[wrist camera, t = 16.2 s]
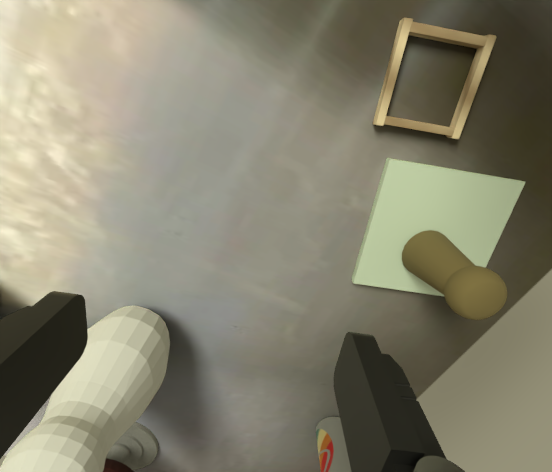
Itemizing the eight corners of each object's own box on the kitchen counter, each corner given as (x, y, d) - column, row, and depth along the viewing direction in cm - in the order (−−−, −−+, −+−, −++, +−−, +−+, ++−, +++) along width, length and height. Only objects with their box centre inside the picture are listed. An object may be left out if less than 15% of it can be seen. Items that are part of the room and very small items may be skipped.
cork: (459, 248, 38) (534, 296, 28) (424, 283, 40) (481, 340, 29) (427, 220, 36) (493, 260, 26) (391, 257, 38) (440, 309, 28)
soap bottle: (155, 388, 48) (-4, 751, 21) (82, 360, 46) (-202, 724, 19) (198, 309, 42) (59, 661, 15) (117, 273, 40) (-212, 607, 13)
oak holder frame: (399, 21, 30) (404, 17, 29) (488, 38, 31) (496, 36, 29) (372, 124, 34) (375, 124, 32) (452, 138, 34) (458, 139, 33)
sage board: (386, 157, 35) (390, 158, 34) (519, 180, 36) (525, 182, 35) (351, 279, 41) (353, 283, 40) (465, 296, 42) (470, 300, 41)
